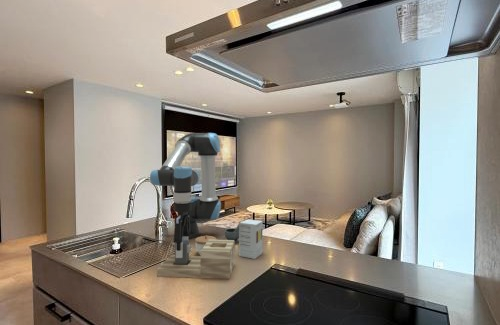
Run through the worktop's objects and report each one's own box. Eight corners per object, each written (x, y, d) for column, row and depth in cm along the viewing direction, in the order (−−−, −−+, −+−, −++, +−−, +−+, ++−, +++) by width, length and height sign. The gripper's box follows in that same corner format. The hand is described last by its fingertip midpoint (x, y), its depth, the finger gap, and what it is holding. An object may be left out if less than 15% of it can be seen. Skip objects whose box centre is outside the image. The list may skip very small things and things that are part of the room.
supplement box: (255, 259, 124) (255, 224, 124) (238, 256, 128) (238, 222, 128) (262, 253, 133) (263, 220, 133) (246, 250, 137) (246, 218, 137)
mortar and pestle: (222, 244, 147) (222, 223, 147) (227, 239, 156) (227, 219, 156) (241, 245, 144) (241, 224, 144) (245, 240, 153) (245, 220, 153)
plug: (178, 267, 114) (178, 235, 114) (190, 267, 114) (191, 236, 114) (174, 270, 110) (175, 238, 110) (188, 271, 110) (188, 239, 110)
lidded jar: (191, 257, 126) (191, 238, 126) (199, 249, 137) (199, 232, 137) (212, 258, 125) (212, 239, 124) (218, 251, 135) (219, 233, 135)
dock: (170, 261, 120) (170, 238, 120) (234, 264, 118) (234, 240, 118) (157, 276, 105) (157, 249, 105) (229, 278, 103) (229, 251, 103)
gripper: (183, 206, 102) (183, 263, 102) (197, 198, 122) (196, 246, 122) (165, 205, 102) (164, 263, 102) (181, 198, 122) (181, 246, 122)
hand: (182, 254), depth 112 cm, fingers open, 7 cm apart
